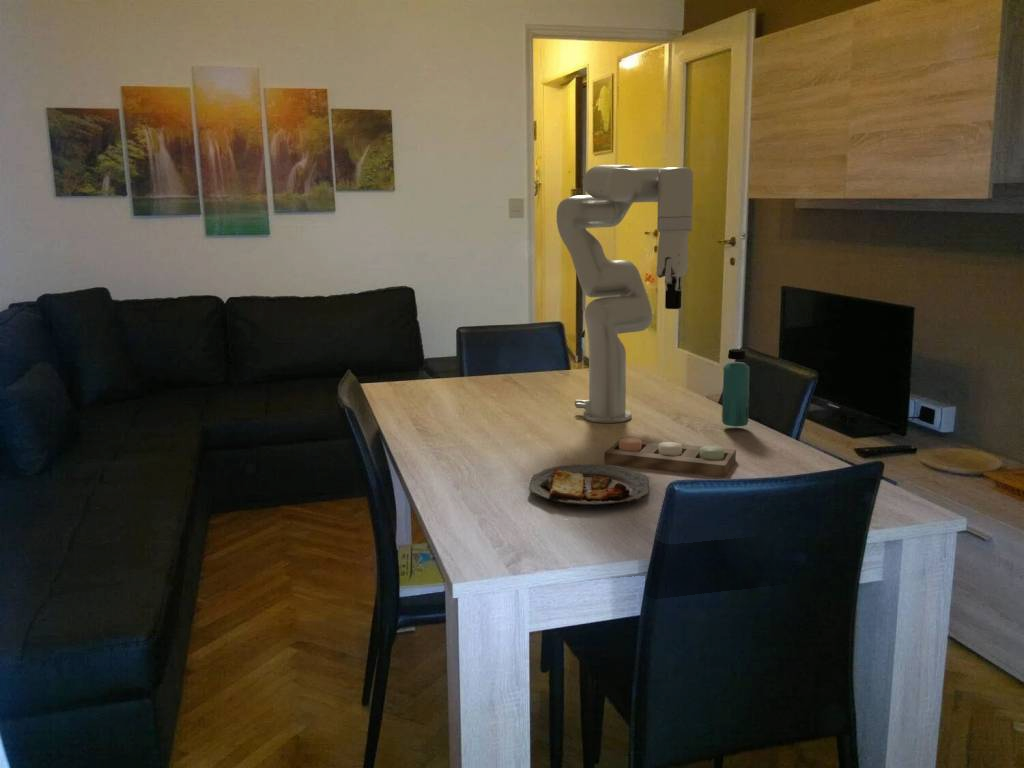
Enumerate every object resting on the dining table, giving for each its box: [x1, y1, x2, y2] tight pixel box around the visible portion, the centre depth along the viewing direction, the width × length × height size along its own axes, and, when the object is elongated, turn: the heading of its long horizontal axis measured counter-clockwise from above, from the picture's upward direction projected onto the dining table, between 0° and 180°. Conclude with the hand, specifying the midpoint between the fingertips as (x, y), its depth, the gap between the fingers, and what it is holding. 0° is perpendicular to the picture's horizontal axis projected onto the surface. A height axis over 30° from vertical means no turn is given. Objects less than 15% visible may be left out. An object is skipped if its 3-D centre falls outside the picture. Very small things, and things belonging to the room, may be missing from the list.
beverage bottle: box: [721, 348, 751, 427], centre depth 210 cm, size 6×7×20 cm
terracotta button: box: [619, 437, 642, 452], centre depth 190 cm, size 5×5×4 cm
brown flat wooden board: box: [603, 437, 737, 478], centre depth 187 cm, size 26×12×2 cm, turn 65°
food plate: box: [527, 463, 650, 507], centre depth 170 cm, size 25×23×4 cm
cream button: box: [659, 441, 682, 456], centre depth 187 cm, size 5×5×4 cm
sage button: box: [700, 445, 725, 461], centre depth 183 cm, size 5×5×4 cm
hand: (673, 308), depth 192 cm, fingers closed
